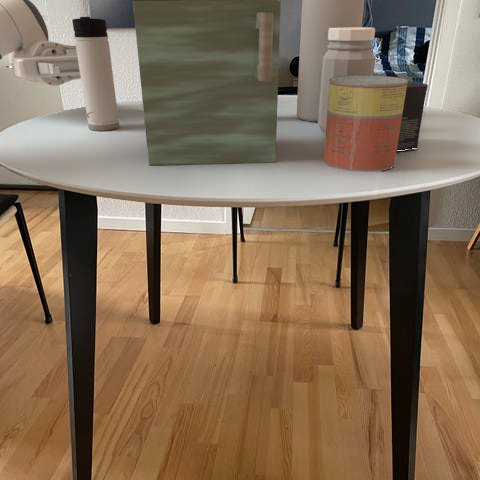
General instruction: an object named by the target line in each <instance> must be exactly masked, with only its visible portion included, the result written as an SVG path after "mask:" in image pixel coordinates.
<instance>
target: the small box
mask: <svg viewBox="0 0 480 480" xmlns="http://www.w3.org/2000/svg"><path fill="white" fill-rule="evenodd" d="M428 87H429V84H428V83H422V82H416V81H411V80H408V83H407V88H406V94H405V101H404V107H403V113H402V120H401V126H400V133H399V139H398V146H397V150H405V149H412V148H417V149H418V146H419V137H420V132H421V126H422V120H423V114H424V108H425V102H426V96H427V93H428Z"/></svg>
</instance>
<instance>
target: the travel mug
mask: <svg viewBox="0 0 480 480" xmlns="http://www.w3.org/2000/svg"><path fill="white" fill-rule="evenodd" d="M71 23H72V28H73V32H74V41H75V46H76V50H77V56H78V63H79V69H80V76H81V78H80V82H81V88H82V94H83V100H84V107H85V113H86V121H87V126H88V129H89V130H90V131H94V130H95V132H106V131H107V132H108V131H113V130H115V131H116V130H117V129H119V128H120V121H119V113H118V105H117V98H116V89H115V82H114V73H113V66H112V58H111V50H110V49H111V48H110V41H109V36H108V28H107V27H108V26H107V21H106V19H102V18H91V16H79V18H73V19H72V21H71Z"/></svg>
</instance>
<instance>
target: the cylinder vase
mask: <svg viewBox="0 0 480 480" xmlns="http://www.w3.org/2000/svg"><path fill="white" fill-rule="evenodd" d="M301 1H302V2H301V3H302V4H301V17H300V19H301V20H300V39H299V41H300V42H299V56H298V57H299V58H298V59H299V61H298V77H297V78H298V79H297V100H296V116H297V118H298V119H299V120H302V121H305V122H311V123H318V118H319V104H320V90H321V76H322V62H323V56H324V55H325V54H326V52H327V51H328V50H329V49H328V48H327V46H328V45H330V40H328V31H329V28H347V27H363V21H364V20H363V19H364V9H365V2H366V1H365V0H301Z"/></svg>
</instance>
